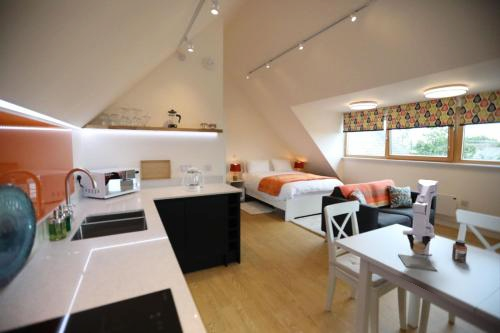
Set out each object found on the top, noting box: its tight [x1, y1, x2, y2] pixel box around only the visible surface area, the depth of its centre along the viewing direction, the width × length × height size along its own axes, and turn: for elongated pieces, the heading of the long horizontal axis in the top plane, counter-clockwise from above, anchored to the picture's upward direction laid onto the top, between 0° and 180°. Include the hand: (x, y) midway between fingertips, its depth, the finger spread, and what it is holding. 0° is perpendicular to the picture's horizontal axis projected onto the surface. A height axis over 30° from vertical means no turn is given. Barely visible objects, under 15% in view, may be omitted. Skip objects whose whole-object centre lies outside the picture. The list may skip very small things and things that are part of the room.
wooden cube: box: [409, 240, 425, 255], centre depth 129 cm, size 5×5×5 cm
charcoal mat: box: [397, 253, 438, 272], centre depth 130 cm, size 14×14×1 cm
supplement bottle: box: [451, 239, 468, 263], centre depth 132 cm, size 6×6×11 cm
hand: (417, 248), depth 129 cm, fingers closed on wooden cube, 5 cm apart
